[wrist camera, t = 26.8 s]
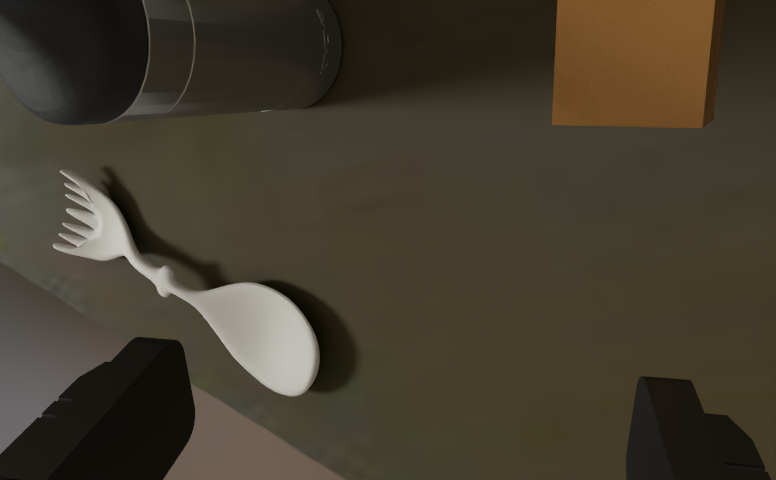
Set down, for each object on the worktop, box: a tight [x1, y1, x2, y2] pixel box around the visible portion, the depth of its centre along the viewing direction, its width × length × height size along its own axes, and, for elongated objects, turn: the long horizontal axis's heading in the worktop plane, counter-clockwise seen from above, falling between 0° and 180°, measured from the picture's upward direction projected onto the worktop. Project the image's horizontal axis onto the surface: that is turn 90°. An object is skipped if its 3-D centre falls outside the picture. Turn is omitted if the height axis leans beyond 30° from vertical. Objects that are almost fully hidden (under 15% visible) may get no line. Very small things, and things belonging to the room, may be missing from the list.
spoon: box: [53, 170, 320, 396], centre depth 58 cm, size 9×32×4 cm, turn 71°
